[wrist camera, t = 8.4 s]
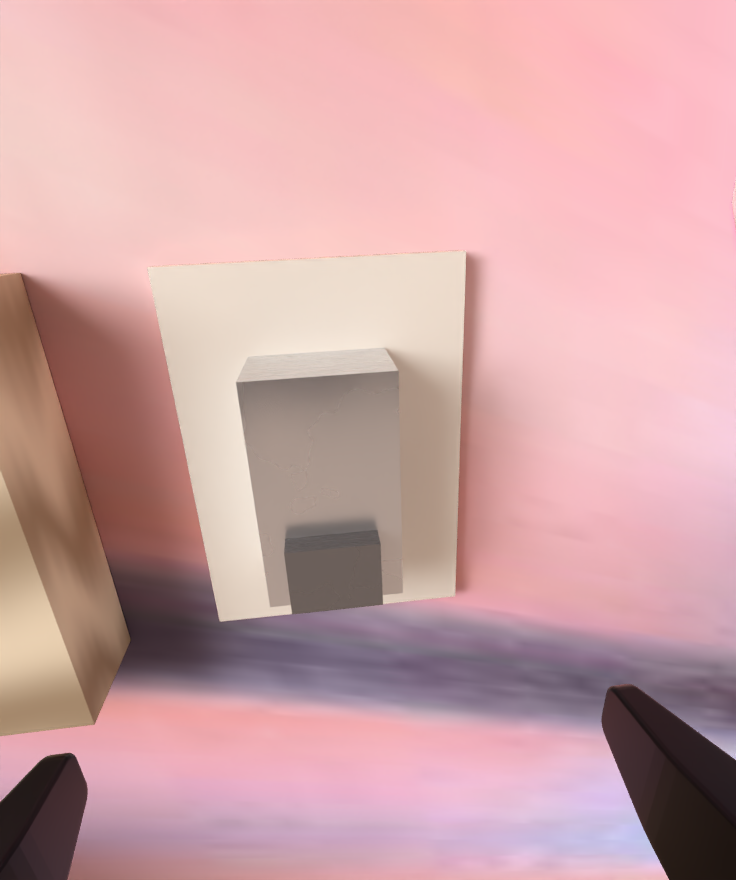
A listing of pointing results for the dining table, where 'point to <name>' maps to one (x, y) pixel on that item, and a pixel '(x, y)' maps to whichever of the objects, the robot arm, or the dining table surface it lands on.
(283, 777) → the dining table surface
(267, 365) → the lever cap
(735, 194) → the bottle
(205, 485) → the board
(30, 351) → the body
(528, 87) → the dining table surface
